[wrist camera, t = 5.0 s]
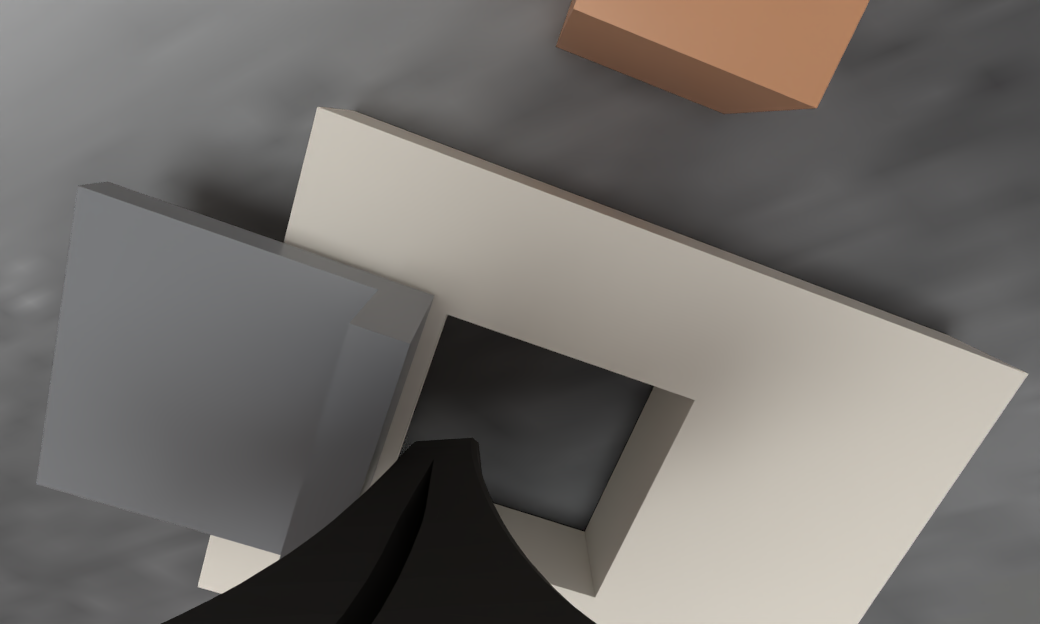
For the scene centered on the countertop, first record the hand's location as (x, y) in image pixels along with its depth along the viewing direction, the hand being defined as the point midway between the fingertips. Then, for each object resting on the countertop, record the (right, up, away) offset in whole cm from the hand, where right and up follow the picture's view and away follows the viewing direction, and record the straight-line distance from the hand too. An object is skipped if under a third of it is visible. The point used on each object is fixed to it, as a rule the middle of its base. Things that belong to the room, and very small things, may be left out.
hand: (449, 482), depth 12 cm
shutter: (-4, +2, +1) cm, 5 cm away
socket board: (+3, 0, +4) cm, 5 cm away
